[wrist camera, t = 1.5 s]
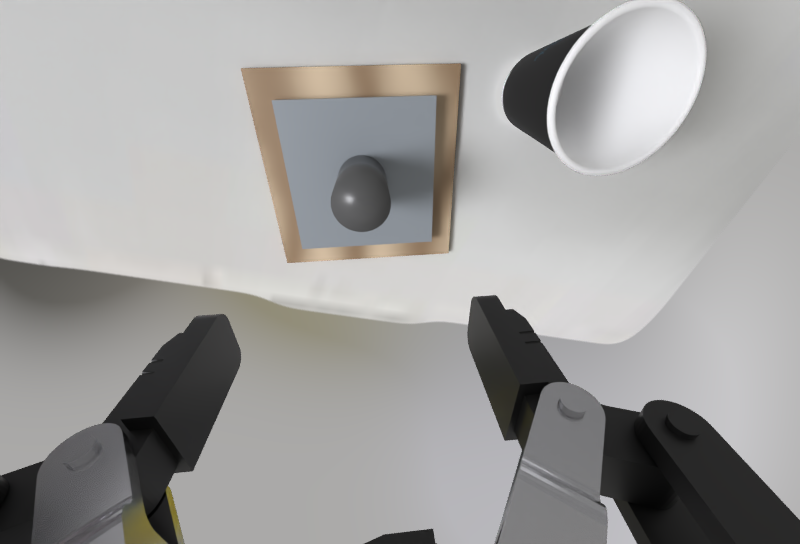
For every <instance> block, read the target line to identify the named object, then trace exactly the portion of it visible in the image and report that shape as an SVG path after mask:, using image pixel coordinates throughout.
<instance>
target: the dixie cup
mask: <svg viewBox="0 0 800 544" xmlns="http://www.w3.org/2000/svg"><path fill="white" fill-rule="evenodd" d="M706 56H707V49H706V39H705V34H704V31H703V28H702V25H701V23H700V21H699V19H698V18H697V16H696V15H695V13H694V12H693V11H692V10H691V9H690V8H689V7H688V6H686V5H685V4H684V3H682V2H680V1H678V0H631V1H628V2H626V3H624V4H621V5H619V6H618V7H616V8H614V9H612V10H611V11H609V12H608V13H606V14H605V15H603V16H602V17H601V18H600V19H598V20H597V21H596V22H595V23H593V24H592V25H590V26H588V27H586V28H584V29H582V30H580V31H577V32H575V33H573V34H571V35H569V36H567V37H565V38H562V39H560V40H558V41H556V42H554V43H552V44H550V45H547V46H545V47H543V48H541V49H539V50H537V51H534V52H532V53H530V54H528V55H527V56H525V57H524V58H523V59H521V60H520V61H519V62H518V63H517V64H516V65H515V67H514V68H513V69H512V70H511V72H510V73H509V75H508V76H507V78H506V80H505V83H504V85H503V89H502V106H503V109H504V112H505V114H506V116H507V118H508V120H509V121H510V122H511V123H512V124H513V125H514V126H516V127H517V128H519V129H520V130H522V131H523V132H525V133H526V134H528V135H529V136H531V137H532V138H534V139H535V140H537V141H538V142H540V143H541V144H543V145H544V146H546V147H547V148H549V149H550V150H552V151H554V152H555V153H556V155H557V156H558V158H559V159H560V160H561V161H562V162H563V163H564V164H565V165H566V166H567V167H569V168H570V169H572V170H574V171H576V172H578V173H581V174H585V175H591V176H605V175H611V174H616V173H619V172H622V171H625V170H627V169H630V168H632V167H634V166H636V165H638V164H639V163H641V162H643V161H644V160H646V159H647V158H649V157H650V156H651V155H653V154H654V153H655V152H656V151H658V150H659V149H660V148H661V147H662V146H663V145H664V144H665V143H666V142H667V141H668V140H669V139H670V138H671V137H672V136H673V135H674V133H675V132H676V131H677V130H678V128H679V127H680V126H681V124H682V123H683V121H684V120H685V118H686V117H687V115H688V113H689V112H690V110H691V108H692V106H693V104H694V102H695V100H696V98H697V95H698V93H699V90H700V87H701V84H702V81H703V77H704V72H705V67H706Z"/></svg>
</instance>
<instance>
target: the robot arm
mask: <svg viewBox="0 0 800 544" xmlns="http://www.w3.org/2000/svg"><path fill="white" fill-rule="evenodd" d="M468 344H469V348H470V351H471V354H472V356H473V359H474V362H475V364H476V367H477V369H478V372H479V374H480V377H481V380H482V382H483V385H484V388H485V390H486V393H487V395H488V398H489V401H490V403H491V406H492V409H493V411H494V414H495V416H496V419H497V421H498V424H499V427H500V429H501V432H502V435H503V437H504V440H516V439H518V441H519V444H520V446H521V448H522V452H521V456H520V459H519V462H518V466H517V469H516V473H515V476H514V480H513V483H512V487H511V490H510V493H509V497H508V500H507V504H506V507H505V510H504V514H503V517H502V521H501V524H500V527H499V530H498V533H497V537H496V540H495V544H606V543H607V523H608V520H607V510H606V507H605V505H604V504H602V503H601V502H600V495H602V496H606V497H610V498H613V499H614V501H615V503H616V505H617V507H618V509H619V510H620V512H621V514H622V516H623V518H624V520H625V521H626V523H627V525H628V527H629V529H630V531H631V533H632V535H633V537H634V538H635V540H636V542H637V544H800V520H799V519H798V518H797V517H796V516H795V515H794V514H793V513H792V511H790V509H789V508H788V507H787V506H786V505H785V504H784V503H783V502H782V501H781V500H780V499H779V498H778V497H777V495H776V494H775V493H774V492H773V491H772V490H771V489H770V488H769V487H768V486H767V485H766V484H765V483H764V482H763V480H762V479H761V478H760V477H759V476H758V475H757V474H756V473H755V472H754V471H753V470H752V469H751V468H750V467H749V465H748V464H747V463H746V462H745V461H744V460H743V459H742V458H741V457H740V456H739V455H738V454H737V453H736V452H735V450H734V449H733V448H732V447H731V446H730V445H729V444H728V443H727V442H726V441H725V440H724V439H723V438H722V437H721V436H720V434H719V433H718V432H717V431H716V430H715V429H714V428H713V427H712V426H711V425H710V424H709V423H708V422H707V421H706V420H705V419H703V418H702V417H701V416H699V415H698V414H697V413H695V412H693V411H691V410H690V409H688V408H686V407H684V406H682V405H679V404H677V403H673V402H670V401H664V400H654V401H651V402H648V403H647V404H646V405H645V406H644V408H643V409H642V411H641V412H636V411H630V410H625V409H620V408H615V407H609V406H605V405H602V404H600V403H599V402H598V401H597V399H596V398H595V397H594V396H592V395H591V394H590V393H589V392H587V391H586V390H584V389H582V388H580V387H579V386H576V385H574V384H571V383H569V382H568V381H567V379H566V378H565V376H564V375H563V373H562V372H561V370H560V369H559V367H558V366H557V364H556V363H555V362H554V360H553V359H552V357H551V355H550V354H549V352H548V351H547V349H546V348H545V346H544V345H543V344H542V343H541V342H540V339H539V338H538V336H537V335H536V333H534V330H533V329H532V327H531V326H530V324H529V323H528V321H527V320H526V318H524V317H523V316H522V315H520V314H519V313H518V312H516V311H515V310H514V309H509V310H505V308H504V307H503V305H502V303H501V302H500V300H499V298H498V297H497V296H496V295H492V296H478V297H473V298H472V300H471V307H470V316H469V324H468ZM240 362H241V352H240V348H239V345H238V343H237V340H236V338H235V335H234V333H233V330H232V328H231V325H230V322H229V320H228V318H227V317H226V315H224V314H216V315H202V316H196V317H195V318H194V319H193V320H192V322H191V323H190V324H189V326H188V327H187V328H186V330H185V331H184V333H179V334H177V335H176V336H175V337H174V338H172V339H171V340H170V341H168V342H167V343H166V344H164V345H163V346H162V347H161V349H160V350H159V351H158V353H157V354H156V355H155V356H154V358H153V359H152V362H151V363H149V364H148V365H147V367H146V368H145V369H144V370H143V372H142V375H140V376H139V377H138V378H137V380H136V381H135V382H134V383H133V385H132V386H131V387H130V389H129V390H128V391H127V392H126V394H125V395H124V396H123V398H122V399H121V400H120V402H119V403H118V404H117V406H116V407H115V408H114V409H113V411H112V412H111V413H110V414H109V416H108V417H107V418H106V420H105V421H104V422H103V423H102V424H98V425H94V426H91V427H89V428H86V429H84V430H82V431H80V432H78V433H76V434H74V435H73V436H71V437H70V438H68V439H67V440H65V441H64V442H63V443H61V444H60V445H59V446H58V447H57V448H55V450H53V451H52V452H51V453H50V454H49V456H48V457H47V458H46V459H45V460H44V461H42V462H39V463H36V464H33V465H31V466H28V467H25V468H22V469H19V470H16V471H13V472H10V473H7V474H4V475H2V476H1V475H0V544H185V543H184V539H183V535H182V532H181V527H180V523H179V519H178V515H177V511H176V508H175V504H174V500H173V496H172V492H171V489H170V488H169V487H168V484H169V482H170V480H171V478H172V476H173V474H174V473H179V472H189V471H193V470H194V467H195V465H196V463H197V461H198V459H199V456H200V454H201V452H202V449H203V447H204V445H205V443H206V441H207V438H208V436H209V434H210V432H211V429H212V427H213V425H214V422H215V421H216V418H217V416H218V414H219V411H220V409H221V407H222V405H223V403H224V400H225V398H226V396H227V393H228V391H229V389H230V387H231V385H232V383H233V380H234V378H235V376H236V374H237V371H238V369H239V366H240ZM365 544H436V543H435V539H434V532H433V529H427V530H419V531H410V532H402V533H394V534H385V535H382V536H380V537H378V538H376V539H373V540H371V541H369V542H367V543H365Z"/></svg>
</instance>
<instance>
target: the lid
mask: <svg viewBox="0 0 800 544" xmlns="http://www.w3.org/2000/svg"><path fill="white" fill-rule="evenodd" d="M436 97H437V96H436V95H416V96H381V97H346V98H312V99H277V100H272V105H273V109H274V114H275V119H276V124H277V129H278V134H279V139H280V143H281V148H282V153H283V158H284V163H285V168H286V172H287V177H288V182H289V187H290V192H291V197H292V201H293V206H294V211H295V216H296V221H297V226H298V230H299V235H300V240H301V245H302V249H313V248H330V247H347V246H364V245H381V244H398V243H415V242H432V215H433V185H434V156H435V126H436Z"/></svg>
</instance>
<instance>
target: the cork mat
mask: <svg viewBox="0 0 800 544" xmlns="http://www.w3.org/2000/svg"><path fill="white" fill-rule="evenodd" d="M241 71H242V76H243V80H244V84H245V88H246V92H247V96H248V100H249V105H250V109H251V113H252V117H253V121H254V125H255V130H256V134H257V138H258V142H259V146H260V150H261V155H262V159H263V163H264V167H265V171H266V175H267V179H268V184H269V188H270V192H271V196H272V200H273V204H274V209H275V213H276V217H277V221H278V225H279V229H280V233H281V238H282V242H283V246H284V250H285V254H286V258H287V263H295V262H312V261H328V260H344V259H360V258H377V257H393V256H409V255H425V254H442V253H449V237H450V222H451V207H452V192H453V177H454V162H455V147H456V132H457V117H458V102H459V86H460V71H461V64H416V65H371V66H327V67H282V68H241ZM416 95H436V96H437V97H436V126H435V156H434V185H433V215H432V242H415V243H398V244H381V245H364V246H347V247H330V248H313V249H302V245H301V240H300V235H299V230H298V226H297V221H296V216H295V211H294V206H293V201H292V197H291V192H290V187H289V182H288V177H287V172H286V168H285V163H284V158H283V153H282V148H281V143H280V139H279V134H278V129H277V124H276V119H275V114H274V109H273V105H272V100H277V99H312V98H346V97H381V96H416Z"/></svg>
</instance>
